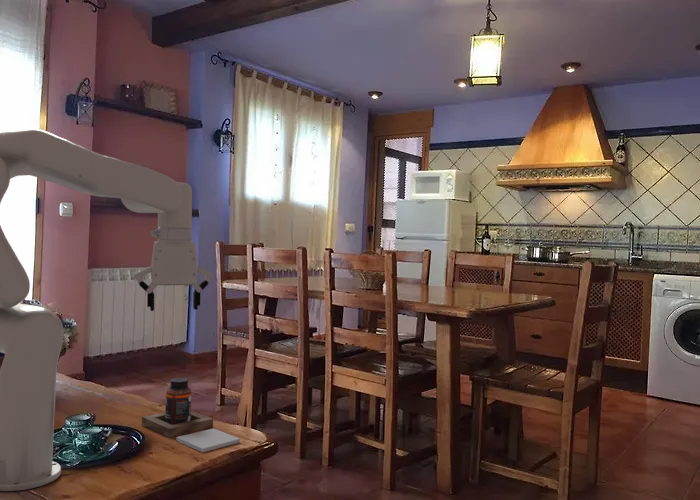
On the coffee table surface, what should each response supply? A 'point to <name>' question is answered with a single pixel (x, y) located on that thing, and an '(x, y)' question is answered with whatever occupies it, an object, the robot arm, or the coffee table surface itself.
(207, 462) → the coffee table surface
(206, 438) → the glazed tile
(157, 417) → the frame
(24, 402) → the robot arm
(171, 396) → the supplement bottle
